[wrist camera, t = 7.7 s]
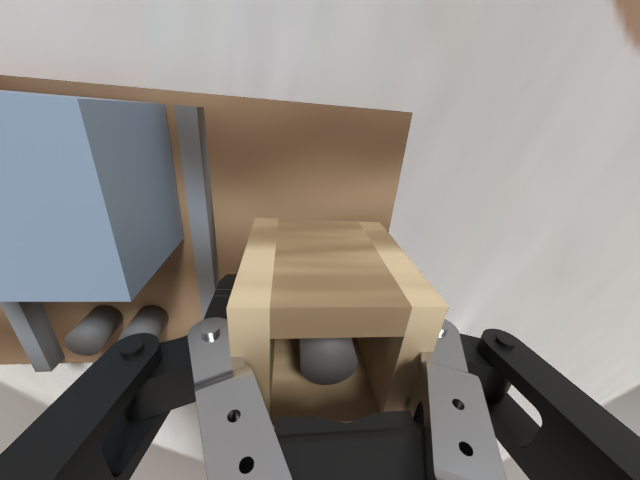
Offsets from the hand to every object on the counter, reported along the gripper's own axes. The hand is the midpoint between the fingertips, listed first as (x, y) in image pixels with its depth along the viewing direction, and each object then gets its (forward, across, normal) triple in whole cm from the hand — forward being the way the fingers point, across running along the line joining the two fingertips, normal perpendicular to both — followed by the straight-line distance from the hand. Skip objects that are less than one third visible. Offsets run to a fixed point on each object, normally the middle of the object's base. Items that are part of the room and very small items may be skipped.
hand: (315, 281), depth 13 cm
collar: (+1, 0, 0) cm, 1 cm away
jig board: (+4, +7, 0) cm, 8 cm away
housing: (+2, +10, -4) cm, 11 cm away
